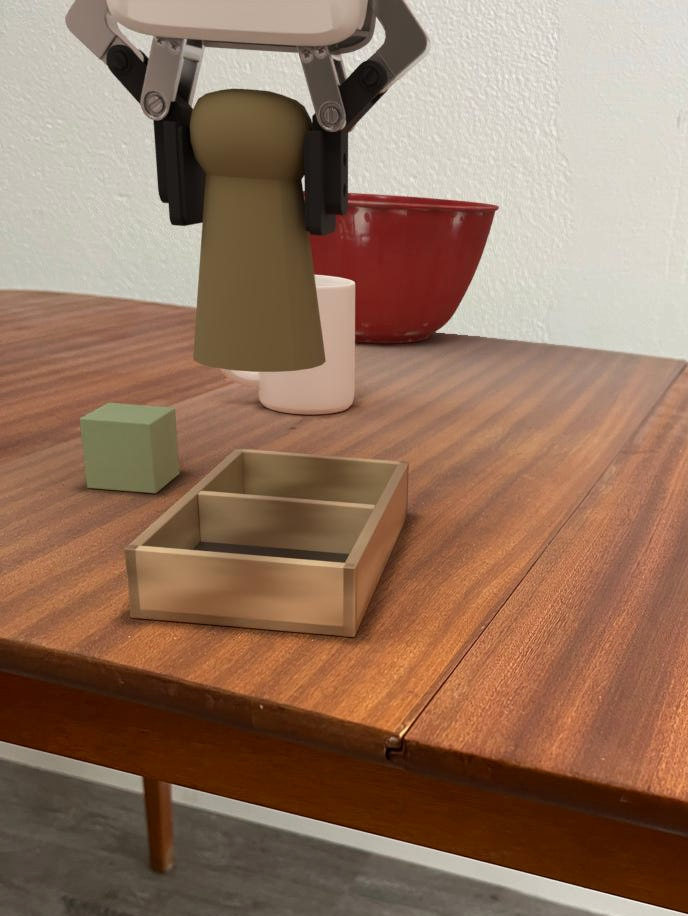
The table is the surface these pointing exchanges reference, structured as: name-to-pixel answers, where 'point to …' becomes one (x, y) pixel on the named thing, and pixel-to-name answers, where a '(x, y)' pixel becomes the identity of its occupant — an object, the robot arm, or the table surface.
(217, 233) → the olive pawn
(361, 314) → the mixing bowl
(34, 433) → the table surface
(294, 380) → the mug
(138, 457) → the green block
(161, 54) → the robot arm
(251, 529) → the tray
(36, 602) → the table surface
